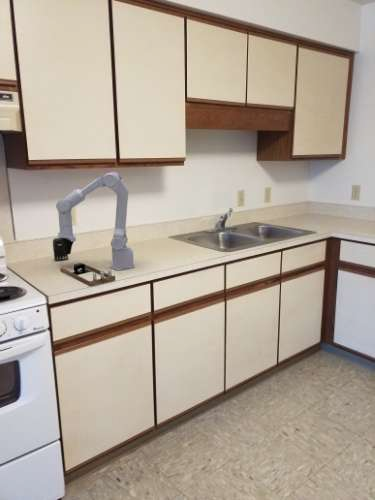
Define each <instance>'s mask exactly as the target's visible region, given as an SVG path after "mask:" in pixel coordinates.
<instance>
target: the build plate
mask: <svg viewBox="0 0 375 500" xmlns="http://www.w3.org/2000/svg"><path fill="white" fill-rule="evenodd" d="M85 264H86V263H83V262H78V263H73V272H72V273H74V274H76V275H78V276H81V275H83V274H87V273H91V272H92V273H93V271H90V270H88V269H86V268H85Z"/></svg>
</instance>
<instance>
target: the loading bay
mask: <svg viewBox="0 0 375 500" xmlns="http://www.w3.org/2000/svg"><path fill="white" fill-rule="evenodd" d="M84 264H85V269H86V270H89V271H92V280H88V279H85V278H84V277H82V276H81V275H76V274H74V273H72V272H71V271H69V270H67V269H65V268H63V267H60V268H59V269H60V273H63V274H65V275H66V276H69V277H70V278H72V279H75V280H77V281H79V282H80V283H82V284H85V285H87V286H88V287H95V286H98V285H102V284H105V283H106V284H107V283H110V282H115V281H116V275H113V274H112V269H107V272H105V271H104V270H100V269H97V268H95V267H93V266H91V265H88V264H86V263H84ZM97 274H98V275H100V278H97Z"/></svg>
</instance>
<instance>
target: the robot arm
mask: <svg viewBox="0 0 375 500" xmlns="http://www.w3.org/2000/svg"><path fill="white" fill-rule="evenodd" d="M101 187H102V188H103V187H107V188H109V189H111V190H112V191H113V192H114V193H115V194H116V208H115V221H114V223H115V224H114V231H113V235H112V239H111V240H110V246H111V257H112V258H111V259H112V262H111V263H112V265H109V266H108V268H109V269H110V268H111V269H113V270H116V271H122V270H126V269H131V268H135V265H134V264H135V263H134V261H135V260H134V251H133V249H132V248H130V247H128V246H127V243H128V241H129V240H128V236H127V229H126V228H127V227H126V225H127V215H128V214H127V212H128V202H129V189H128V187H127V185H126V183H125V181H124V179H123V177H122V176H121V174H119V173H118V172H115V171H111V172H107V173H105V174H104V175H102V176H99V177H97V178H95V179H94V180H93V181H91V182H90V183H89V184H88V185H86V186H85V187H83V188H82V189H78V188H77V189H73V190H72V191H71V193H70V194H68V195H65V196H63V199H59V200H58V201H57V203H55V208H56V211H58V224H59V225H58V228H59V232H57V238H63V239H60V240H59V241H60V242H61V244H62V246H63V249H64V252H65V254H66V255H67V254H68V255H71V254H72V247H73V245H74V243H75V242H76V241H77V237H76V236H75V234H74V232H73V230H74V229H73V217H72V210H73V208H75V207H77V206H78V205H80V203H82V202H84V201H85V200H86V196H87V195H89V194H90V193H92V192H94V191H95V190H97V189H98V188H101Z"/></svg>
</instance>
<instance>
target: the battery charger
mask: <svg viewBox="0 0 375 500" xmlns="http://www.w3.org/2000/svg"><path fill="white" fill-rule="evenodd" d="M60 239H63V238H59V237H56V238H53V239H52V251H53V260H54V261H56V262H61V261H67V260H68V259H69V256H68V255H69V254H67V255H66V254H65V252H64V249H63V246H62V244H61V242H60V241H59V240H60Z"/></svg>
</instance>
